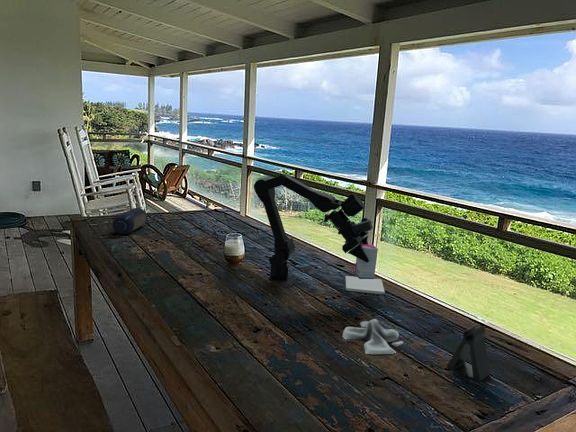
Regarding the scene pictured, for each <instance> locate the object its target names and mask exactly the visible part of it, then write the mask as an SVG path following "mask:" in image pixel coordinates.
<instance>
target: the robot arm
mask: <svg viewBox="0 0 576 432" xmlns="http://www.w3.org/2000/svg"><path fill="white" fill-rule="evenodd" d="M282 186H283V187H284V188H286V189H288V190H289V191H291V192H293V193H295V194H297V195H299V196H301V197H302V198H304V199H306V200H307V201H308V202H310V203H311V204H312V206H314V207H315V208H316V209H317V210H319V211H320V212H322V213H324V220H323V222H324V223H327V222H328V221H330V222H331V224H332V225H333V226H334V228H335V229H336V230H337V231H338V232H337V234H338V235H339V236H340V235H341V237H343V239H344V243H343V245H341V246H342V248H341V249H342V251H343V252H344V253H345V254H348V255H352V256H353V257H355V258H359V259H361V260H363V261H364V262H366V263H367V262H369V259H368V257H367V256H366V254H365V252H364V250H363V249H362V244H369V242H368V240H369V231H372V229H373V228H374V227H373V223H372V220H371V219H368V217H363V218H361V221H360V222H358V223H356V222H355V221H351V220H350V217H351V218H355V216H356V215H358V214H359V213H360V212H362V211H363V210H364V209H366V204H365V203H364V201H363V200H362V199H361V198H360V197H359V196H357V195H356V194H355V193H354V192H353V193H350V195H349V196H348V197H346V199H344V200H341V199H338V198H336V197H335V196H334V195H332V194H329V193H326V192H322V191H319V190H316V189H314V188H312V187H310V186H309V185H306V184H304V183H303V182H301V181H299V180H297V179H296V178H293V177H292V176H290V175H289V174H288V173H283V174H280V175H277V176H275V177H272V178H269V177H264V178H260V179H258V180H255V183H254V184H253V190H254V192H255V194H256V197H257V198H258V199H259V201H260V202H261V203H262V204H263V207H264V211H265V214H266V216H267V220H268V223H269V226H270V229H271V233H272V236H273V238H274V239H273V240H274V241H273V242H274V244H273V249H274V254H272V255H271V256H270V257H269V258H268V261H269V264H270V272H269V273H270V276H269V280H275V281H276V280H277V281H287V279H288V278H289V270H290V266H289V264H288V263H289V262H288V261H289V260H290V259H291V258H292V257H293V256H294V254H295V252H296V245H295V243H294V239H293V237H290V238H289V237H288V236H287V233H286V231H285V229H284V224H283V222H282V218H281V215H280V212H279V209H278V205H277V202H276V188H278V187H282ZM340 207H341V208H340ZM337 209H338V210H337ZM330 211H331V212H330ZM329 212H330V213H329ZM328 213H329V214H328Z"/></svg>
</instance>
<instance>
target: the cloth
mask: <svg viewBox="0 0 576 432" xmlns="http://www.w3.org/2000/svg"><path fill="white" fill-rule="evenodd" d="M359 325H360V327H355V326H346V327H344V329H343V333H342V337H343V338H344V339H345V340H344V339H343V338H342V339H343V340H344V341H347V340H346V339H349V340H361V339H365V340H364V341H366V342H365V343H364V344H363V349H364V354H366V355H367V354H371V355H394V353H395V354H397V352H396V350H394V349H393V348H391V346H390V345H389V343H390V342H392V343H391V345H392V346H395V347H399V346H401V345H403V344H404V341H403V340H401V341H397V340H398V339H399V336H400V334H399V331H397V330H395V329H394V328H391V329H390V328H389V329H387V328H384V327H383V326H382V325H381V324H380V322H379V321H378V319H377V318H374V319H370V320H369V321H366V320H364V321H361V322H360V323H359Z"/></svg>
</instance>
